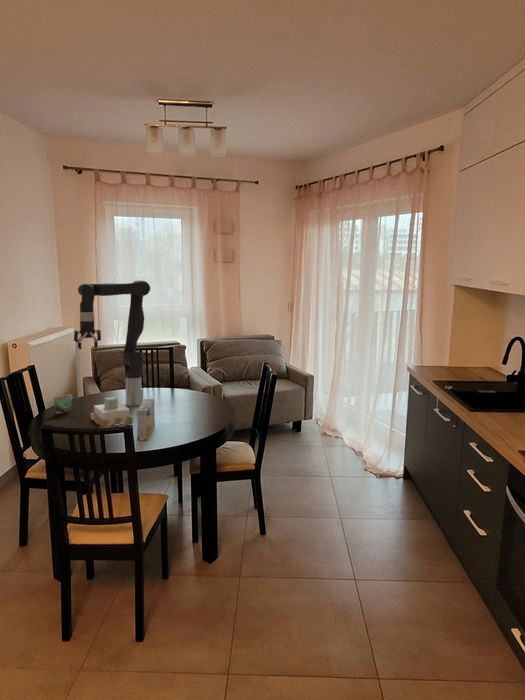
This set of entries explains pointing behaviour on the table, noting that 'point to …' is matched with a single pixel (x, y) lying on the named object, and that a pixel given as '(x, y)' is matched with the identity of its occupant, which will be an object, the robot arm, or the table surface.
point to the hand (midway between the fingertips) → (87, 348)
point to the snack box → (145, 419)
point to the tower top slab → (111, 412)
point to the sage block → (111, 403)
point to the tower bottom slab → (110, 422)
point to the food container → (63, 404)
